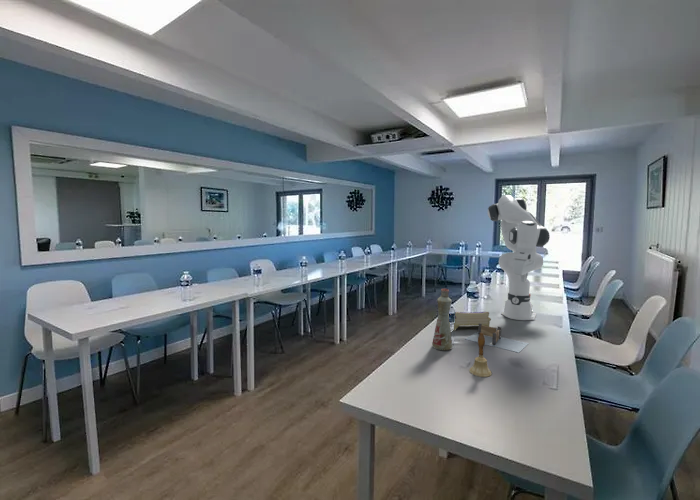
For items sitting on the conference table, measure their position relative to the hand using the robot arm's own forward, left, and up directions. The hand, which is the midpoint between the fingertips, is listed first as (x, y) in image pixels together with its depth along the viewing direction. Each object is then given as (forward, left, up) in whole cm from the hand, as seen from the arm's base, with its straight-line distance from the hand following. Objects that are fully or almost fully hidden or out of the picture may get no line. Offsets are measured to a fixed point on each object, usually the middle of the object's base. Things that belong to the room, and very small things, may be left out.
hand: (523, 281), depth 179 cm
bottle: (+42, -22, -28) cm, 55 cm away
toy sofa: (+5, -25, -29) cm, 38 cm away
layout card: (+16, -6, -28) cm, 33 cm away
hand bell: (+55, +1, -28) cm, 62 cm away
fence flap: (+18, -6, -28) cm, 33 cm away
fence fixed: (+12, -11, -28) cm, 33 cm away
